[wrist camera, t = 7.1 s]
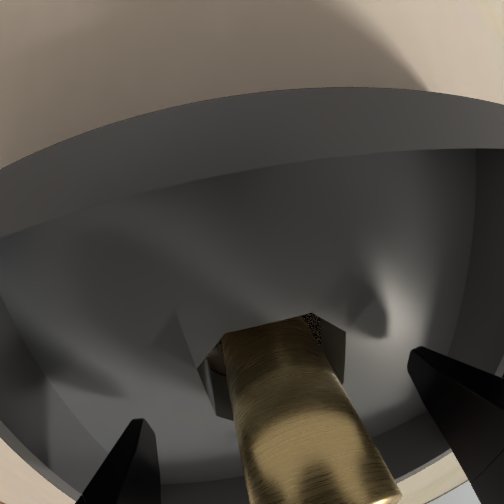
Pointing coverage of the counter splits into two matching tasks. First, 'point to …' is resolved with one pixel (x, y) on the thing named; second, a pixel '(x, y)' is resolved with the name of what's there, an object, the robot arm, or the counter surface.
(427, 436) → the tray
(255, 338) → the brass peg
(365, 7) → the counter surface
